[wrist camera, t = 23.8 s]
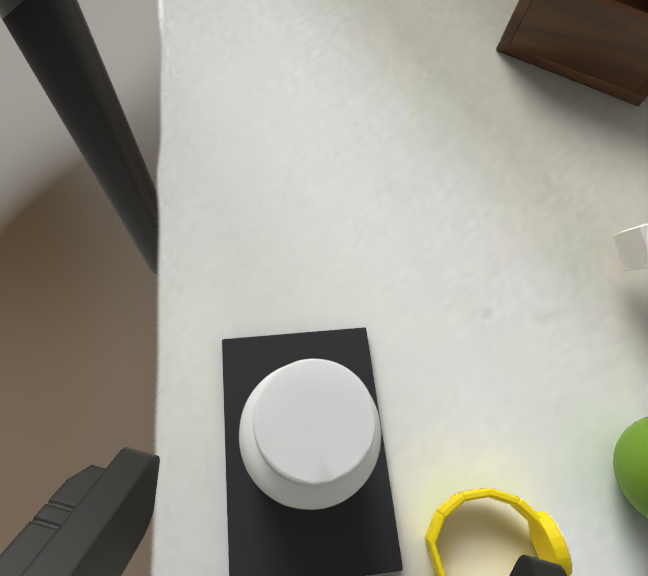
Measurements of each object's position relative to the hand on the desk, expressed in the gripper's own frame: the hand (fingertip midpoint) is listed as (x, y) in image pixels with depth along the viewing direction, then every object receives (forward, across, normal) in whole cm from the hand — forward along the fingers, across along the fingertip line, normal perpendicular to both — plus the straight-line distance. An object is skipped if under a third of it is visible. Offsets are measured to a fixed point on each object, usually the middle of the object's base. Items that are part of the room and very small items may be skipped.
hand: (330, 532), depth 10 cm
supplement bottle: (+12, -1, -8) cm, 14 cm away
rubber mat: (+12, -1, -8) cm, 15 cm away
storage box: (+39, +13, +19) cm, 45 cm away
